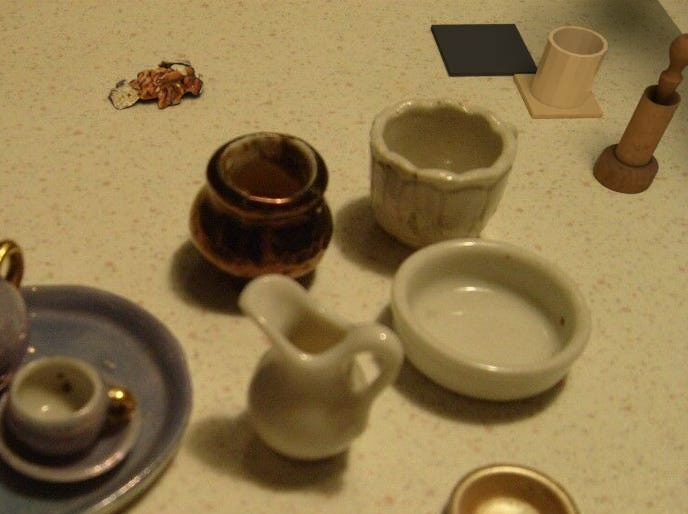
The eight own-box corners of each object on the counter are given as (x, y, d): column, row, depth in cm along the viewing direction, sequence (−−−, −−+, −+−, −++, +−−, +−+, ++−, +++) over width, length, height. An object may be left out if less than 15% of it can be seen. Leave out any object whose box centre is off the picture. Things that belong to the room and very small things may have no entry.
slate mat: (513, 27, 122) (514, 23, 121) (537, 75, 114) (539, 71, 114) (430, 28, 121) (431, 24, 121) (449, 76, 114) (450, 72, 113)
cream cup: (574, 81, 114) (596, 25, 107) (591, 112, 109) (615, 56, 103) (522, 82, 113) (542, 25, 107) (537, 113, 109) (558, 57, 103)
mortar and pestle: (618, 199, 99) (689, 59, 85) (581, 166, 102) (644, 27, 88) (663, 185, 100) (739, 45, 86) (625, 153, 104) (693, 14, 90)
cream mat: (579, 76, 114) (581, 73, 114) (601, 117, 109) (603, 113, 108) (513, 77, 114) (514, 73, 113) (532, 118, 108) (533, 114, 108)
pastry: (102, 91, 111) (100, 66, 108) (186, 68, 114) (186, 44, 111) (123, 120, 107) (121, 95, 104) (210, 96, 110) (210, 72, 107)
